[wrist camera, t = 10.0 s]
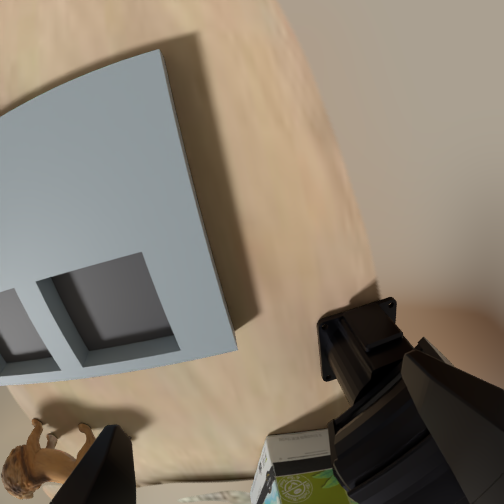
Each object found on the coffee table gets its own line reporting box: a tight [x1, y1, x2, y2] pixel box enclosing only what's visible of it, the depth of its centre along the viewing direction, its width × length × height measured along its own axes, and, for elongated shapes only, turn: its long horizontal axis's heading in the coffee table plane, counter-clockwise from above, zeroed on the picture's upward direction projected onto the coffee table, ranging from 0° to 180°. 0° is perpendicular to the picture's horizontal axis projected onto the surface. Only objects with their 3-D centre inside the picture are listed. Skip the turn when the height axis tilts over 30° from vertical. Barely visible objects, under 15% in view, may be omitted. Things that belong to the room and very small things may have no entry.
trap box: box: [0, 49, 238, 386], centre depth 16 cm, size 18×24×2 cm
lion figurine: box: [1, 419, 131, 499], centre depth 20 cm, size 15×5×9 cm, turn 100°
